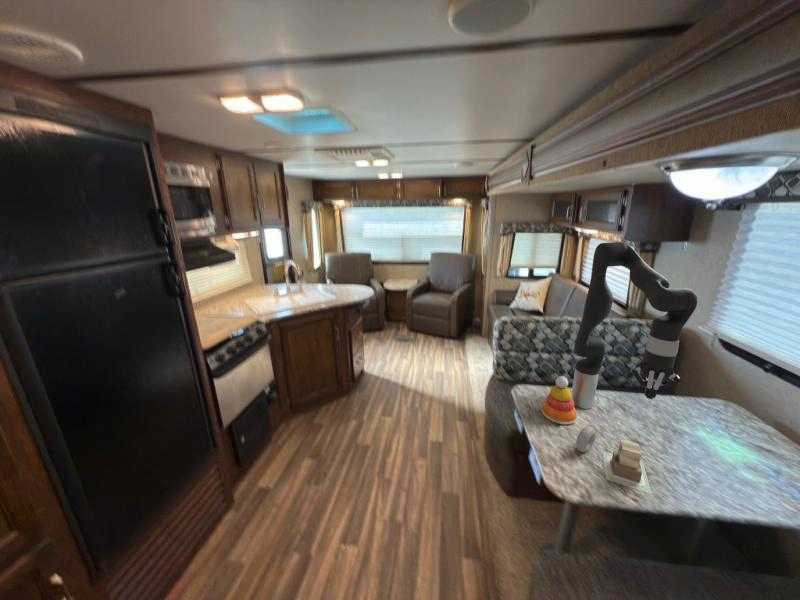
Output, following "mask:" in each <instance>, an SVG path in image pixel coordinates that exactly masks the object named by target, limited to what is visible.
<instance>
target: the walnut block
mask: <svg viewBox="0 0 800 600" xmlns="http://www.w3.org/2000/svg"><path fill="white" fill-rule="evenodd" d="M612 454H613V456H612V465H613V471H614V474H615V475H618V476H621V477H624V478H627V479H630V480H634V481H637V482H640V480H641V476H642V470H641V466H640V463H639V467H638V469H635V468H632V467H629V466H625V465H622V464H619V459H618V450H617V451H616V450H613V452H612Z"/></svg>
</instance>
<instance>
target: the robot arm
mask: <svg viewBox="0 0 800 600" xmlns="http://www.w3.org/2000/svg"><path fill="white" fill-rule="evenodd" d="M592 257H593V258H592V265H591V266H592V267H591V273H590V274H591V275H590V281H589V286H588V290H587V295H586V298H585V303H584V307H583V308H584V309H583V313H582V316H581V317H582V319H581V323H580V326H579V329H578V332H577V333H576V338H575V341H574V349H573V350H574V353H575V355H576V356H578V357H582V358H583V359H580V360H578V361H576V362H575V368H574V376H573V380H572V387H571V388H572V389H571V393H572V399H573V401H574V407H577V408H579V409H583V410H584V409H585V410H590V409H592V408H593V407H594V404H595V398H596V392H597V386H598V380H599V376H600V370H601V368H602V366H603V361H604V357H605V353H606V342H605V340H604V338H602V337H600V336H591V334H592V332H593V331H594V329H595V328H596V327H598V326H599V325H600V324H601V323H602V322H603V321H605V319H607V318H608V316H609V315H610V313H611V311H612V307H613V303H614V295H613V293H612V290H611V288H610V286H609V285H608V283H607V277H606V276H607V270H608V267H609V268H610V267H624V268H626V269H627V270H629V279H630V281H631V283H632V284H633V286H635V287H637V288H638V290H639V291H640V292H642V293H643V294H644V295H645V297H646V299H647V301H648V303H649V304H650V306H651V307H652V308H653V309H654V310H656V311H659V312H662V313H666V314H665V315H662V316H658V317H655V318H654V319H653V320H652V323H651V328H650V332H649V336H648V337H647V340H646V344H645V348H644V353H643V358H642V361H641V362H640V363H639V365H637V366H631V367H630V370H631V373H632V375H633V376H634V377H635V379H636V380H637V381H638V383H639V384H640V386H644V391H643V394H644V396H645V397H646V399H650V400H653V399H655V398H657V397H656V396H657V393H658V391H659V390H662V391H665V390H668V389H669V388H671V387H673V386H675V385H676V384H678V383H680V382H682V379H681V377H680V376H679V374H676V373H675V371H674V366H675V363H676V358H677V354H678V353H679V347H680V339H681V335H682V332H683V327H685V325H686V324H687V322H688V320H690V318H691V316H692V315H693V314H694V312H695V310H696V308H697V306H698V296H697V293H696V292H695V291H694V290H692V289H690V288H686V287H685V288H684V287H682V288H681V287H677V288H670V282H669V280H668V279H667V278H666V277H665V276H663V275H662V274H660V273H659V272H657V270H655V269H653V268H652V267H651V266H650V265H648V264H647V263H646V261H644V260H643V258H642V257H641V256H640V255H639V254H638V253H637V252H636V250H635V249H634V248H633V247H632V246H631V245H630V244H628V243H626V242H623V241H618V242H617V241H615V242H613V241H612V242H611V241H610V242H601V243H599V244H598V245H596V247H595V249H594V253H593V256H592ZM641 372H642V373H643V374H644V376H645V379H643V377H642V376H641Z"/></svg>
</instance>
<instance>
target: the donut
mask: <svg viewBox="0 0 800 600" xmlns="http://www.w3.org/2000/svg"><path fill="white" fill-rule="evenodd" d="M596 437H597V433H596V429H594V427H592V426H585V427H583V428H581V430H580V431H579V433H578V435H577V437H576V441H575V448H576V449H577V450H578V451H579V452H581V453H588V451H590V450H591V448H592V447H593V445H594V443H595V441H596Z"/></svg>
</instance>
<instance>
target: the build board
mask: <svg viewBox="0 0 800 600" xmlns="http://www.w3.org/2000/svg"><path fill="white" fill-rule="evenodd" d="M612 456H613V452H612V453H611V452H608V451H604V450H602V457H603V465H604V474H605V480H607V481H611V482H613V483H616V484H620V485H623V486H625V487H628V488H632V489H634V490H638V491H640V492H644V493H647V494H650V495H653V493H652V491H651V490H652V489H651V487H650V483H649V479H648V476H647V472H646V469H645V465H644V462H642V461H640V466H641V470H642V476H641V480H640V482H637V481H634V480H630V479H627V478H624V477H621V476H618V475H615V474H614V471H613V465H612Z"/></svg>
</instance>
